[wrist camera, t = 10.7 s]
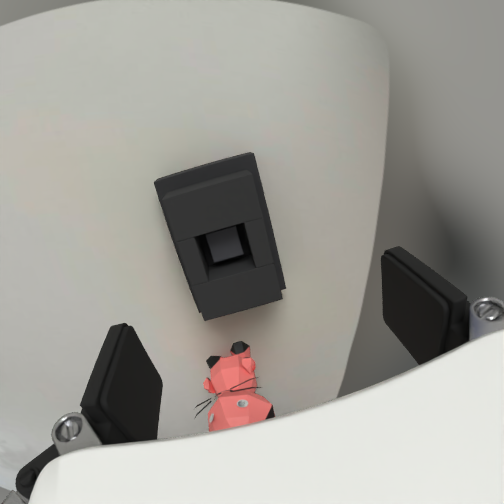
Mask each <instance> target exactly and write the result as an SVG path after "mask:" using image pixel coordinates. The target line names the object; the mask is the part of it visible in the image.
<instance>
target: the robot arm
mask: <svg viewBox="0 0 504 504" xmlns="http://www.w3.org/2000/svg"><path fill="white" fill-rule="evenodd" d="M381 270H382V296H383V297H382V298H383V318H384V321H385V323H386V324H387V325H388V327H389V328H390V329H391V330H392V332H393V333H394V334H395V335H396V336H397V338H398V339H399V340H400V341H401V342H402V344H403V345H404V346H405V348H406V349H407V350H408V351H409V353H410V354H411V355H412V356H413V358H414V359H415V360H416V361H417V363H418V364H419V366H417V367H415V368H412V369H410V370H408V371H406V372H404V373H402V374H399V375H397V376H394V377H392V378H390V379H387V380H385V381H383V382H380V383H377V384H375V385H372V386H370V387H367V388H365V389H362V390H359V391H357V392H354V393H351V394H348V395H346V396H343V397H340V398H337V399H334V400H331V401H328V402H325V403H322V404H319V405H316V406H312V407H309V408H306V409H303V410H299V411H296V412H292V413H289V414H285V415H282V416H278V417H274V418H270V419H266V420H262V421H258V422H254V423H250V424H245V425H241V426H236V427H231V428H227V429H222V430H216V431H211V432H206V433H200V434H194V435H187V436H181V437H173V438H166V439H158V440H157V432H158V422H159V413H160V404H161V396H162V387H163V384H162V379H161V377H160V375H159V373H158V372H157V370H156V368H155V367H154V365H153V363H152V361H151V360H150V358H149V356H148V354H147V352H146V351H145V349H144V347H143V345H142V343H141V341H140V340H139V338H138V336H137V334H136V332H135V330H134V328H133V327H132V326H128V325H127V324H126V323H122V324H118V325H114V326H111V327H110V329H109V332H108V334H107V336H106V339H105V341H104V343H103V346H102V348H101V351H100V353H99V356H98V358H97V361H96V363H95V366H94V368H93V371H92V374H91V376H90V379H89V382H88V384H87V387H86V390H85V393H84V395H83V398H82V401H81V404H80V406H81V407H82V411H81V413H78V412H72V413H68V414H66V415H64V416H62V417H61V418H60V419H59V420H58V421H57V422H56V423H55V425H54V427H53V429H52V434H51V436H52V440H53V442H54V444H53V445H52V446H50V447H49V448H48V449H46V450H45V451H44V452H42V453H41V454H40V455H38V456H37V457H36V458H35V459H33V460H32V461H31V462H29V463H28V464H27V465H25V466H24V467H23V468H22V469H21V470H20V471H19V473H18V474H17V477H16V489H17V491H16V492H15V491H14V490H12V491H11V492H10V494H9V495H8V496H7V497H6V499H5V500H4V501H3V502H2V504H504V302H502V301H501V300H499V299H497V298H494V297H480V298H477V299H476V300H474V301H473V302H472V303H469V302H468V301H467V296H466V295H465V294H464V293H463V292H461V291H460V290H459V289H457V288H456V287H455V286H454V285H452V284H451V283H450V282H448V281H447V280H446V279H444V278H443V277H442V276H440V275H439V274H438V273H436V272H435V271H434V270H432V269H431V268H430V267H428V266H427V265H425V264H424V263H422V262H421V261H420V260H419V259H417V258H416V257H414V256H413V255H412V254H410V253H409V252H407V251H406V250H404V249H403V248H402V247H400V246H398V247H394V248H391V249H388V250H386V251H385V252H384V255H382V256H381Z"/></svg>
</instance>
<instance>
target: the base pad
mask: <svg viewBox="0 0 504 504" xmlns="http://www.w3.org/2000/svg"><path fill="white" fill-rule="evenodd" d="M243 170H248V171H249V172H251V173H252V175H253V179H254V183H255V187H256V191H257V195H258V199H259V203H260V207H261V211H262V215H263V219H264V223H265V227H266V231H267V235H268V239H269V243H270V248H271V252H272V256H273V260H274V264H275V268H276V272H277V277H278V281H279V285H280V289H281V290H283V289H286V286H285V281H284V277H283V272H282V268H281V264H280V259H279V255H278V251H277V246H276V242H275V238H274V234H273V229H272V225H271V221H270V217H269V213H268V208H267V204H266V200H265V196H264V192H263V188H262V184H261V180H260V176H259V172H258V168H257V164H256V160H255V156H254V153H251V152H249V153H245V154H241V155H237V156H233V157H230V158H226V159H222V160H219V161H215V162H211V163H208V164H204V165H201V166H198V167H194V168H191V169H188V170H184V171H181V172H178V173H175V174H171V175H168V176H165V177H162V178H159V179H157V180H156V181H155V182H154V185H155V188H156V191H157V194H158V197H159V201H160V204H161V207H162V210H163V213H164V216H165V219H166V222H167V225H168V228H169V231H170V234H171V237H172V240H173V243H174V246H175V248H176V251H177V254H178V257H179V260H180V263H181V265H182V268H183V271H184V274H185V276H186V279H187V282H188V284H189V287H190V290H191V292H192V295H193V298H194V300H195V303H196V306H197V308H198V311H199V313H201V310H200V308H199V305H198V303H197V300H196V297H195V295H194V292H193V289H192V286H191V284H190V281H189V278H188V276H187V273H186V270H185V267H184V264H183V262H182V259H181V256H180V253H179V250H178V247H177V244H176V242H175V239H174V236H173V233H172V230H171V227H170V224H169V221H168V218H167V215H166V212H165V209H164V206H163V203H162V199H163V197H164V196H165V195H166V194H167V192H170V191H174V190H177V189H180V188H183V187H187V186H190V185H193V184H197V183H200V182H203V181H207V180H210V179H214V178H217V177H221V176H225V175H228V174H232V173H236V172H239V171H243ZM199 238H200V241H201V244H202V247H203V250H204V253H205V256H206V259H207V262H208V266H211V265H215V264H218V263H222V262H225V261H229V260H233V259H236V258H240V257H243V256H247V255H250V254H251V253H250V249H249V245H248V242H247V238H246V234H245V231H244V227H243V223H241V224H237V225H234V226H230V227H227V228H223V229H219V230H216V231H213V232H209V233H206V234H202V235H199Z"/></svg>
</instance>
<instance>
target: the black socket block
mask: <svg viewBox="0 0 504 504" xmlns="http://www.w3.org/2000/svg"><path fill="white" fill-rule="evenodd" d="M162 203H163V206H164V209H165V212H166V215H167V218H168V221H169V224H170V227H171V230H172V233H173V236H174V239H175V242H176V244H177V247H178V250H179V253H180V256H181V259H182V262H183V264H184V267H185V270H186V273H187V276H188V278H189V281H190V284H191V286H192V289H193V292H194V295H195V297H196V300H197V303H198V305H199V308H200V310H201V313H202V316H203V318H204V321H206V320H210V319H214V318H217V317H221V316H225V315H228V314H232V313H236V312H239V311H243V310H247V309H250V308H254V307H257V306H261V305H264V304H267V303H271V302H274V301H278V300H281V299H283V298H282V294H281V289H280V285H279V281H278V277H277V272H276V268H275V264H274V260H273V256H272V252H271V248H270V243H269V239H268V235H267V231H266V227H265V223H264V219H263V215H262V211H261V207H260V203H259V199H258V195H257V191H256V187H255V183H254V179H253V175H252V173H251V172H249V171H248V170H243V171H239V172H236V173H232V174H228V175H225V176H221V177H217V178H214V179H210V180H207V181H203V182H200V183H197V184H193V185H190V186H187V187H183V188H180V189H177V190H174V191H170V192H167V194H166V195H165V196H164V197H163V199H162ZM241 223H243V227H244V231H245V234H246V238H247V242H248V245H249V249H250V253H251V254H250V255H247V256H243V257H240V258H236V259H233V260H229V261H225V262H222V263H218V264H215V265H211V266H208V262H207V259H206V256H205V253H204V250H203V247H202V244H201V241H200V238H199V235H202V234H206V233H209V232H213V231H216V230H219V229H223V228H227V227H230V226H234V225H237V224H241Z"/></svg>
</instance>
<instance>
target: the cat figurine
mask: <svg viewBox="0 0 504 504" xmlns="http://www.w3.org/2000/svg"><path fill="white" fill-rule="evenodd" d="M231 354H232V356H230V357H226V358H223V357H221V356H210V357H209V359H208V360H207V361H206V362H207V364H208V366H209V368H210V369H211V380H210V379H209V378H206V380H205V381H204V383H203V384H204V388H205V389H206V390H208V391H209V393H216V397H217V396H218V399H217V401H216V402H215V403H214V405H213V406H212V407H211V409H210V411H209V413H208V422H209V432H211V431H216V430H222V429H227V428H231V427H236V426H241V425H245V424H250V423H254V422H258V421H262V420H266V419H270V418H274V417H275V414H274V410H273V405H272V404H271V403H270V402H269V401H267V400H266V399H265V398H264V397H263V396H260V395H258V394H255V390H256V388H261V387H257V383H256V378H255V373H254V369H255V361H254V360H253V359H252V358H251V357H250V346H249V345H247V344H245V343H244V342H242V341H241V342H237V343H233V346H232V348H231ZM257 378H258V377H257ZM210 399H211V398H210ZM210 399H208V400H210ZM208 400H206V401H204V402H202V403H201V404H203V403H205V402H207V401H208ZM214 400H215V399H214ZM209 403H211V401H210V402H209ZM209 403H208V404H209ZM201 404H199V405H201ZM208 404H207V405H208ZM199 405H197V406H199ZM207 405H206V406H207ZM197 406H196V407H197ZM206 406H205V407H206ZM196 407H195V408H196ZM205 407H204V408H205ZM204 408H203V409H204ZM203 409H202V410H203ZM202 410H201V411H202ZM201 411H199V412H198V413H197V415H198V414H199V413H200V412H201ZM197 415H196V416H197ZM195 418H196V417H195Z"/></svg>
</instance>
